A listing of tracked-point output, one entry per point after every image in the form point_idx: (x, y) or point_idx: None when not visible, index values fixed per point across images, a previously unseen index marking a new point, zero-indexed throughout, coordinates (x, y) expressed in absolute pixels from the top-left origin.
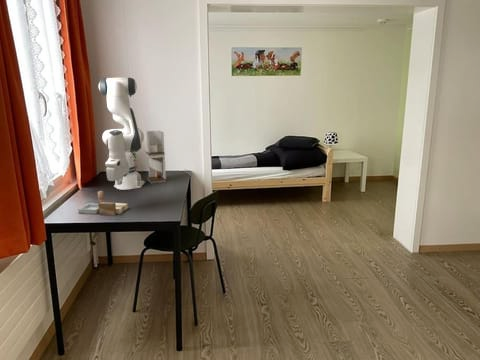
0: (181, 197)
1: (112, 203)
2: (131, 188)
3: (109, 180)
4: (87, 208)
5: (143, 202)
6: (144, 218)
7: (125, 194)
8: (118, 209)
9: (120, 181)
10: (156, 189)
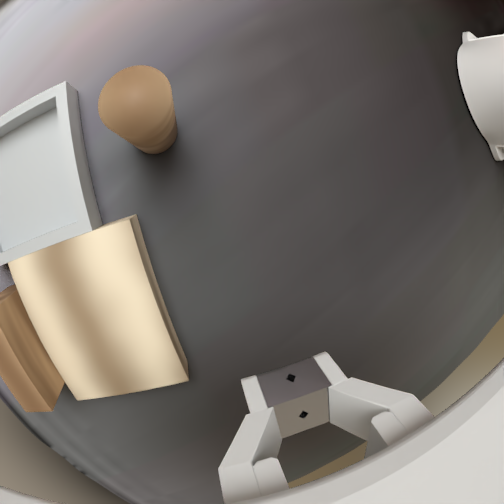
0: None
1: (30, 404)
2: (480, 127)
3: (6, 499)
4: (37, 121)
5: None
6: (117, 474)
7: (423, 139)
8: (74, 392)
9: (302, 425)
10: (488, 249)
